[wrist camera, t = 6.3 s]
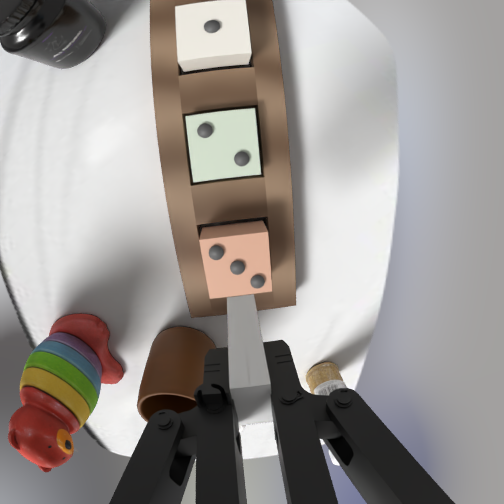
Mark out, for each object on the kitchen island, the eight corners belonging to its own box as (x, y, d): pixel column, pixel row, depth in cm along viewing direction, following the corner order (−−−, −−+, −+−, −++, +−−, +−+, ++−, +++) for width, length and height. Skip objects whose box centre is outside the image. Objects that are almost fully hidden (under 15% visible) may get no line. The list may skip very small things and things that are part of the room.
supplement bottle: (90, 72, 17) (9, 42, 6) (41, 69, 16) (-39, 52, 5) (120, 10, 15) (63, -49, 4) (68, 11, 14) (3, -28, 3)
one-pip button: (180, 21, 16) (174, 5, 13) (242, 14, 16) (245, -3, 13) (184, 71, 18) (177, 60, 15) (248, 64, 18) (252, 52, 15)
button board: (155, 5, 16) (150, -4, 14) (266, -8, 16) (269, -17, 14) (193, 306, 27) (191, 317, 25) (291, 294, 28) (295, 305, 26)
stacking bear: (127, 379, 31) (98, 497, 15) (67, 370, 30) (25, 468, 14) (104, 314, 27) (40, 449, 10) (39, 308, 26) (-33, 411, 10)
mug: (233, 388, 33) (237, 449, 24) (178, 395, 33) (172, 453, 24) (208, 318, 28) (204, 387, 19) (142, 328, 28) (120, 393, 19)
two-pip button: (190, 119, 20) (185, 116, 18) (251, 112, 21) (255, 107, 18) (197, 177, 22) (193, 182, 19) (256, 170, 23) (261, 174, 20)
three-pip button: (202, 227, 23) (198, 240, 20) (262, 220, 23) (268, 232, 20) (211, 281, 24) (209, 300, 22) (267, 274, 25) (272, 292, 22)
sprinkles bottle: (304, 386, 34) (330, 470, 21) (305, 364, 32) (335, 455, 20) (336, 379, 34) (369, 458, 22) (340, 357, 32) (379, 441, 20)
